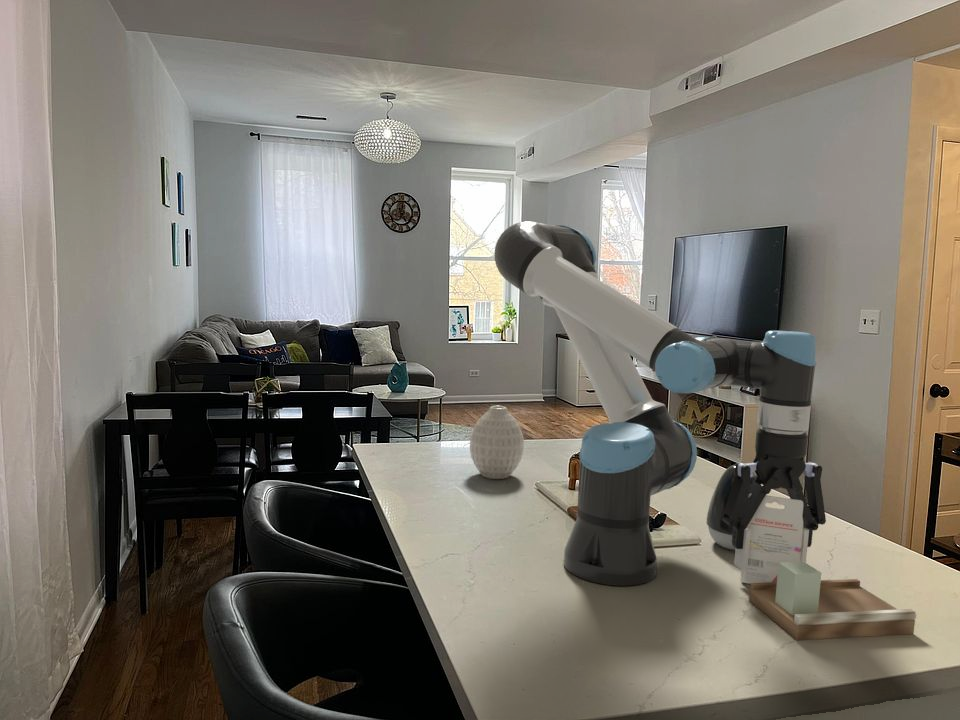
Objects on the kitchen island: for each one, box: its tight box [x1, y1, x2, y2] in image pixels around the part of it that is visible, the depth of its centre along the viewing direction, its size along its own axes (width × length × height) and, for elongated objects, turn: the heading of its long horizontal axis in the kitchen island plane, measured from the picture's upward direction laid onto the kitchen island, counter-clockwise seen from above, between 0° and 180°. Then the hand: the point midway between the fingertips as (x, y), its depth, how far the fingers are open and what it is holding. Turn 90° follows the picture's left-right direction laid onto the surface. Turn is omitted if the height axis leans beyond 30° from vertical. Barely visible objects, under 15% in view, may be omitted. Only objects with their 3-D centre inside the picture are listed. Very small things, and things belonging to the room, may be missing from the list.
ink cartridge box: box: [740, 494, 803, 585], centre depth 116 cm, size 9×5×15 cm, turn 68°
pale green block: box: [775, 562, 822, 615], centre depth 103 cm, size 4×4×6 cm
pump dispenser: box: [705, 464, 756, 551], centre depth 132 cm, size 10×10×15 cm
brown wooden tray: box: [748, 578, 917, 641], centre depth 105 cm, size 18×12×3 cm
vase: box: [469, 405, 525, 480], centre depth 173 cm, size 13×13×17 cm
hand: (769, 566), depth 117 cm, fingers closed on ink cartridge box, 9 cm apart
